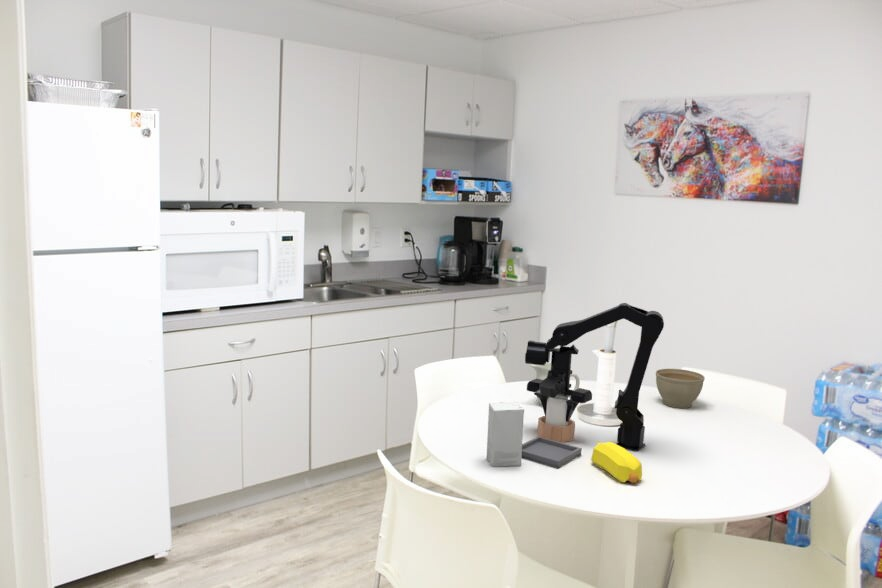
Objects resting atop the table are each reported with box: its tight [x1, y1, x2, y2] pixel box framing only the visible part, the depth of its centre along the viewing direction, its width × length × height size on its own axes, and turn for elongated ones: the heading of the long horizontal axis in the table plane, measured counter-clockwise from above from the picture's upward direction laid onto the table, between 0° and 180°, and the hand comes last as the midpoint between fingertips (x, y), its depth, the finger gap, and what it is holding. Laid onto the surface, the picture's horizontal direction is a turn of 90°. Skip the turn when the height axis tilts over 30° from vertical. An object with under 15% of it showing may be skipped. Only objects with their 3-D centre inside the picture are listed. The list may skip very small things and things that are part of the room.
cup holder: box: [536, 415, 576, 443], centre depth 218 cm, size 11×11×4 cm
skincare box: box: [486, 401, 525, 467], centre depth 194 cm, size 8×7×16 cm
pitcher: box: [529, 362, 581, 406], centre depth 249 cm, size 11×18×14 cm, turn 103°
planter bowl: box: [655, 368, 705, 409], centre depth 257 cm, size 16×16×11 cm
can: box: [545, 394, 569, 426], centre depth 217 cm, size 6×6×12 cm
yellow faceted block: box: [590, 441, 643, 484], centre depth 192 cm, size 18×7×8 cm
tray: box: [521, 436, 582, 469], centre depth 202 cm, size 14×14×2 cm
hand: (556, 418), depth 217 cm, fingers closed on can, 6 cm apart
